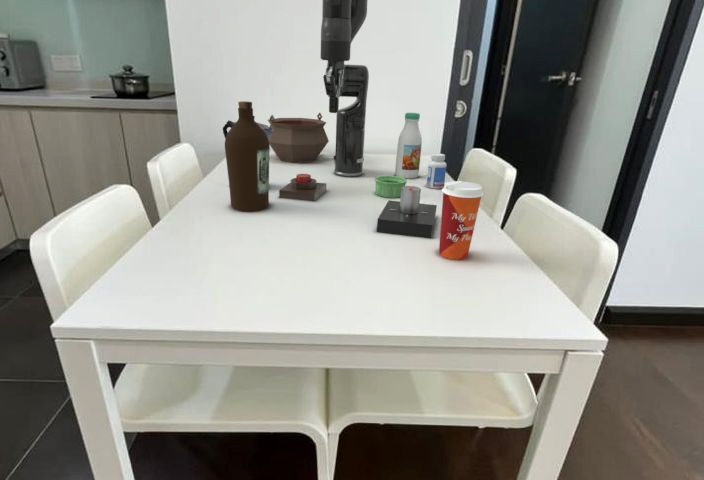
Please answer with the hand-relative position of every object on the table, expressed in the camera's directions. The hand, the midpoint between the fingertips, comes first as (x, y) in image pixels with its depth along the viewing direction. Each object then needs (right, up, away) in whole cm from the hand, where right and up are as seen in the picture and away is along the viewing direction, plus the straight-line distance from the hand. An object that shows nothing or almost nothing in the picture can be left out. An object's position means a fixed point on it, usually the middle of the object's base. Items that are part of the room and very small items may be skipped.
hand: (333, 112), depth 123 cm
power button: (-8, -17, +5) cm, 20 cm away
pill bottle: (+31, -16, +20) cm, 40 cm away
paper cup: (+24, -39, -30) cm, 55 cm away
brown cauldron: (-14, +1, +52) cm, 54 cm away
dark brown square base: (-9, -21, +7) cm, 23 cm away
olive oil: (-21, -26, -5) cm, 34 cm away
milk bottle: (+24, -10, +31) cm, 41 cm away
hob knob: (+18, -28, -15) cm, 37 cm away
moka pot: (-25, -18, +12) cm, 33 cm away
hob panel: (+17, -31, -14) cm, 38 cm away
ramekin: (+16, -20, +10) cm, 28 cm away
